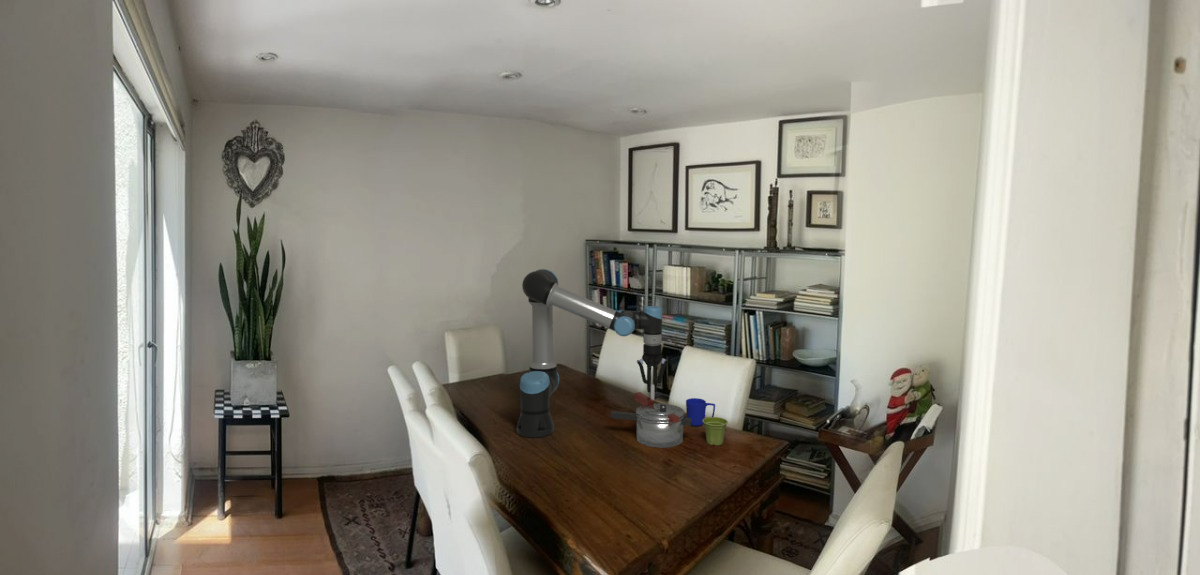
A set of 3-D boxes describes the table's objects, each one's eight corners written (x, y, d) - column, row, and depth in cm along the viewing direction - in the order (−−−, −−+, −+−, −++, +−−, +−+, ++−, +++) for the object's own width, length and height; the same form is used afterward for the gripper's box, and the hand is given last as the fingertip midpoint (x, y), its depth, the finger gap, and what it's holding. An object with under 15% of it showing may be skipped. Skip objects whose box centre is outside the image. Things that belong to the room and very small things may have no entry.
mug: (714, 428, 236) (715, 405, 235) (685, 426, 238) (685, 403, 237) (714, 422, 244) (715, 399, 243) (686, 420, 246) (686, 397, 245)
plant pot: (712, 449, 214) (713, 426, 214) (697, 441, 223) (697, 419, 222) (732, 444, 219) (732, 422, 218) (716, 436, 227) (716, 415, 226)
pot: (605, 442, 222) (605, 416, 221) (617, 426, 240) (617, 402, 238) (687, 451, 213) (687, 424, 212) (694, 433, 230) (694, 409, 229)
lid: (617, 402, 238) (617, 392, 238) (656, 396, 245) (657, 387, 245) (653, 426, 209) (653, 415, 209) (697, 419, 216) (697, 409, 216)
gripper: (638, 346, 232) (638, 403, 234) (670, 345, 234) (669, 401, 236) (635, 342, 239) (634, 397, 242) (665, 341, 241) (664, 396, 243)
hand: (651, 399), depth 239 cm, fingers closed
